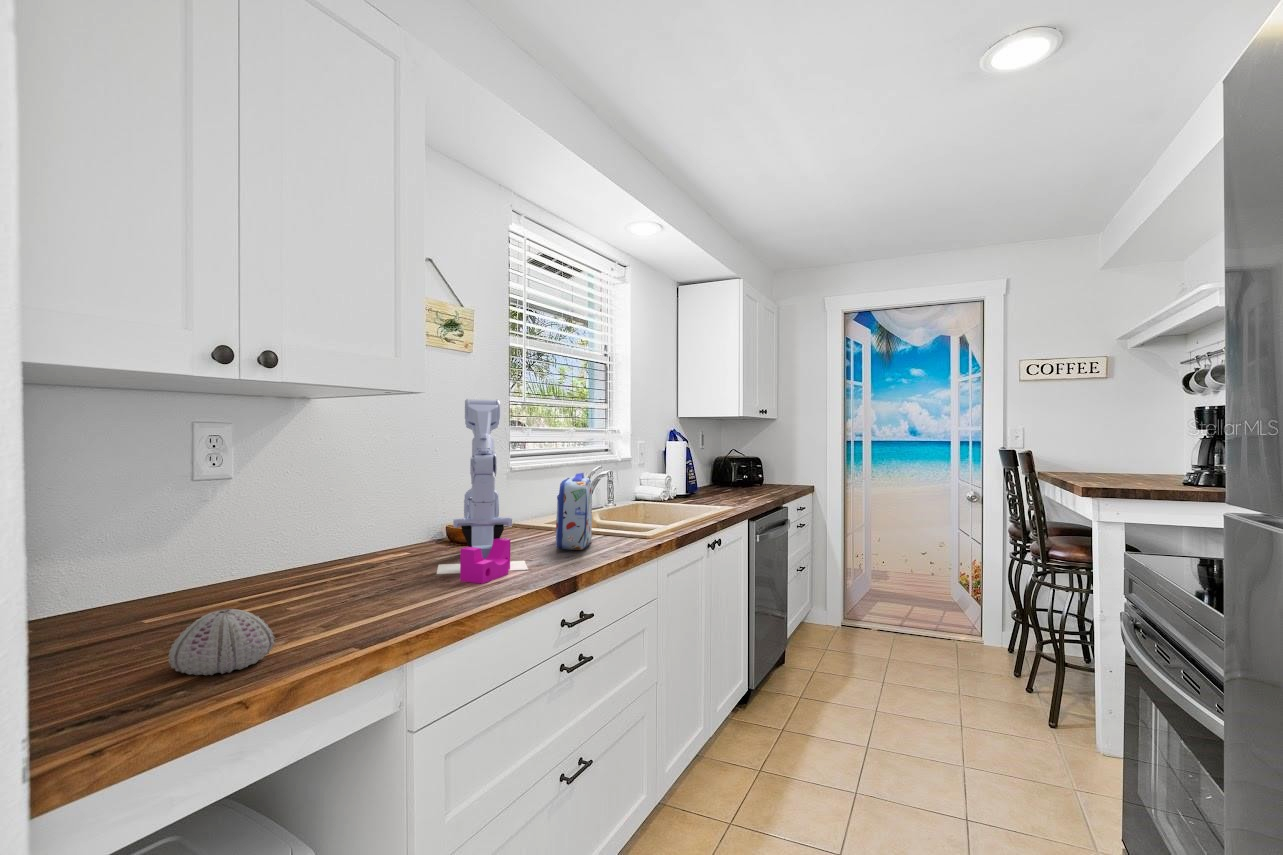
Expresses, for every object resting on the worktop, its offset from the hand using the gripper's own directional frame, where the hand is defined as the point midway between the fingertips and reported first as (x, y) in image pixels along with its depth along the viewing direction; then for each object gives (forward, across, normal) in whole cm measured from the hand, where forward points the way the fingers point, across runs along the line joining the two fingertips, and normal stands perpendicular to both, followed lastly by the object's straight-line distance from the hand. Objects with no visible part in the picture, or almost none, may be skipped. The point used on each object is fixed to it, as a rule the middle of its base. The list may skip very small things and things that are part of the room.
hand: (482, 554), depth 163 cm
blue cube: (+3, 0, 0) cm, 3 cm away
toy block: (+3, +2, -10) cm, 10 cm away
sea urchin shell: (+4, -39, -60) cm, 71 cm away
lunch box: (+3, +28, +26) cm, 38 cm away
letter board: (+3, 0, 0) cm, 3 cm away
